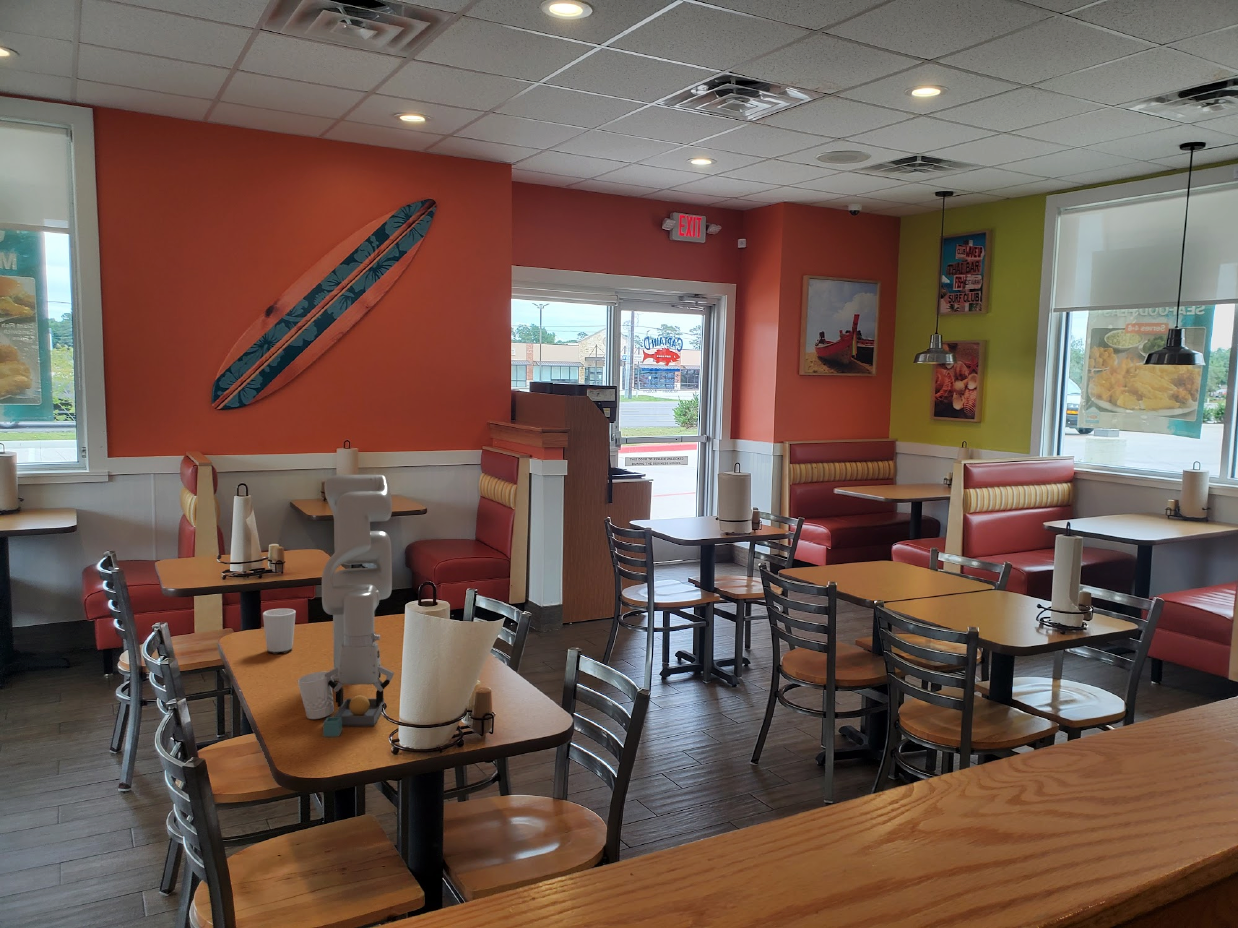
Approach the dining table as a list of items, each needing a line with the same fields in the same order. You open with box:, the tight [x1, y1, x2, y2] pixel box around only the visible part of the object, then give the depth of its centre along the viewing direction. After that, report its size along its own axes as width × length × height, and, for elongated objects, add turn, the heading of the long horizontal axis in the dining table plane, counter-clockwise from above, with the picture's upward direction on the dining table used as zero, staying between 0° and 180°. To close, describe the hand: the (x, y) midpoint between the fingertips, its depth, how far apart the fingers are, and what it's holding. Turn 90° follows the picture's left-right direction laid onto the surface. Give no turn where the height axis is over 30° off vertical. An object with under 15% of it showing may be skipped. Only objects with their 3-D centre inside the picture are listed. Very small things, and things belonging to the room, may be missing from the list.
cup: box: [262, 608, 297, 655], centre depth 281 cm, size 10×10×13 cm
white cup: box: [297, 670, 335, 720], centre depth 226 cm, size 8×8×10 cm
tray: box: [332, 697, 385, 728], centre depth 226 cm, size 13×10×3 cm
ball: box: [349, 695, 370, 716], centre depth 226 cm, size 5×5×5 cm
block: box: [322, 716, 343, 738], centre depth 215 cm, size 4×4×4 cm
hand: (359, 705), depth 225 cm, fingers open, 9 cm apart
